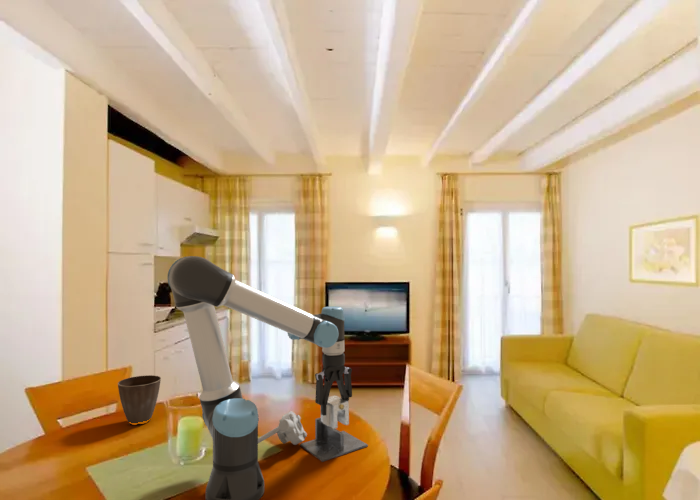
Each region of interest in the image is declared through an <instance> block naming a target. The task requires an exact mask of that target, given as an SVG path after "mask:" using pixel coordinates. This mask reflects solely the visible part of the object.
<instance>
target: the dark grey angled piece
mask: <svg viewBox="0 0 700 500" xmlns="http://www.w3.org/2000/svg"><path fill="white" fill-rule="evenodd" d="M314 421H315V422H314V423H315V425H314V427H315V430H314V431H315V433H314V434H315V439H312V440H309V441H305V442H300V443H299V447H302V449H304V450H306V451H307V453H309V454H311V455H312V456H313V457H315V458H316V459H318V460H319V461H320V462H321V463H323V462H326V461H329V460H332V459H335V458H338V457H341V456H343V455H344V456H345V455H347V454H350V453H353V452H355V451H358V450H361V449H364V448H367V447H368V446H369V444H367V443H366V442H364V441H362V440H361V439H359V438H357V437H355V436H353V435H352V434H351V433H348V432H347V431H345V430H342V431H340V430H338V428H335V429H333V428H332V427H330V426H327V425H325V424H323V422H321V417H317V418H315V420H314Z"/></svg>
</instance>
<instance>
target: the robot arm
mask: <svg viewBox="0 0 700 500" xmlns="http://www.w3.org/2000/svg"><path fill="white" fill-rule="evenodd" d="M167 284H168V286H169V287H170V289H171V292H172V297H173V300H174V304H175V307H176V308H175V309H177V310H179V311H181V312H183V315H184V319H185V320H184V321H185V323H186V328H187V332H188V335H189V340H190V342H191V343H190V344H191V347H192V352H193V355H194V356H193V357H194V359H195V363H196V367H197V371H198V375H199V379H200V383H201V386H202V391H201V392H200V395H199V396H198V398H199V401H200V405H201V410H202V411H201V412H202V414H201V415H202V416H201V417H202V420H203V423H204V424H205V426H206V428H207V430H208V432H209V435H210V436H211V438H212V468H211V472H210V475H209V478H208V481H207V484H206V487H205V500H260V499H261V498H262V497H263V495H264V493H265V479H264V476H263V472H262V470H261V468H260V463H259V459H258V458H259V456H258V455H259V454H258V453H259V443H258V438H259V417H260V416H259V411H258V410H259V409H258V407H257V405H256V403H254V402H253V401H252V400H249V399H245V398H243V395H242V391H241V390H242V388H241V387H240V383H239V382H238V381H235V380H233V376H232V372H231V368H230V364H229V359H228V356H227V350H226V348H225V345H224V339H223V336H222V332H221V328H220V323H219V319H218V315H217V312H216V308H219V307H223V306H224V307H226V308H228V309H231V310H232V311H233V310H234V311H235V312H237V313H241V314H243V315H245V316H248V317H250V318H253V319H254V320H257V321H260V322H262V323H265V324H267V325H269V326H271V327H274V328H277V329H279V330H281V331H284V332H286V333H287V336H288V337H289V339H290V340H297V341H299V340H304V341H307V342H309V343H312V344H314V345H317V346H318V347H320V348H322V349H321V352H322V355H321V356H322V370H321V372H319V373H315V374H314V377H315V400H314V401H315V404H317V405H319V406H320V415H321V414H322V415H323V424H325V425H327V426H329V405H327V402H328V397H330V391H331V388H332V386H333V383H334V382H336V385H337V388H338V392H339V394H340V398H342V399H344V400H346V401H350V398H352V397H353V386H352V371H353V369H352V368H351V367H348V366H345V364H346V355H345V353H344V352H345V347H346V346H345V321H346V319H345V311H344V309H343V307H341V306H324V307H322V309H321V313H317V314H312V313H309V312H308V311H306V310H303V309H301V308H299V307H297V306H295V305H292V304H290V303H288V302H286V301H284V300H281V299H279V298H277V297H275V296H272V295H270V294H268V293H266V292H263V291H261V290H259V289H257V288H255V287H252V286H250V285H249V284H246V283H244V282H241V281H240V280H238V279H236V276H235V275H234V274H233V273H231V272H229V271H228V270H225V269H223V268H222V267H220V266H218V265H216V264H214V263H213V262H212V261H210V260H209V259H207V258H205V257H202V256H198V255H195V256H193V255H190V256H189V255H188V256H183V257H181V258H178V259H176V261H174V262H173V263H172V264H171V265H170V267H169V269H168V273H167Z"/></svg>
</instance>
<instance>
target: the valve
mask: <svg viewBox="0 0 700 500" xmlns="http://www.w3.org/2000/svg"><path fill="white" fill-rule="evenodd" d="M301 419H302V417H301V416H300V415H299V414H296V413H295V412H294V411H292V410H291V411H288V412H287V413H285V414H284V415H282V416H281V418H280V419H279V423H278V425H277V427H274V428H273V429H272V430H269V431H268V432H267V433H265V434H263V435H261V436H260V437H259V436H258V444H260V443H262V442H264V441H266V440H267V439H268V438H270V437H272V436H274V435H276V434H277V437H278V439H279V440H280V442H281V443H282V444H287V443H288V442H290V443H291V444H292V445H294V446H297V445H298V444H301V443H303V441H305V439H306V437H308V436H307V435H308V433H307V432H306V431H305V429H304V427H303V424H302V423H301Z"/></svg>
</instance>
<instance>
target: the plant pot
mask: <svg viewBox="0 0 700 500" xmlns="http://www.w3.org/2000/svg"><path fill="white" fill-rule="evenodd" d="M161 380H162V378H161V376H158V375H152V374H151V375H146V374H145V375H137V376H131V377H127V378H123V379H122V380H120V381H118V382H117V388H118V393H119V399H120V403H121V408H122V410H123V413H124V416H125V418H126V420H127V422H131V423H138V422H143V421H147V420H149V419H150V418H151V419H152V416H153V414H154V411H155V408H156V405H157V401H158V397H159V391H160V387H161Z"/></svg>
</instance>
